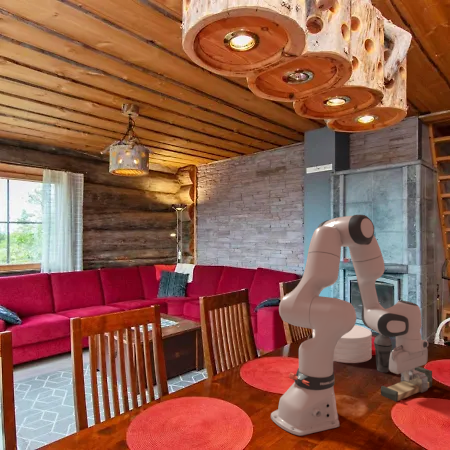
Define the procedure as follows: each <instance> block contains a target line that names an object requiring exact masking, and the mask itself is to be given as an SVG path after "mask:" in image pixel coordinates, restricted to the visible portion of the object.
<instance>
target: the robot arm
mask: <svg viewBox="0 0 450 450" xmlns="http://www.w3.org/2000/svg"><path fill="white" fill-rule="evenodd" d="M308 246H309V247H308V249H307V256H306V263H305V267H304V270H303V271H304V272H303V275H302V277H301V279H300V281H299V283H298V284H297V286H295V288H294V289H292V291H290V292H288V293H287V294H285V295H284V296H283V297H282V298H281V299H280V302H279V304H278V305H279V306H278V312H279V316H280V318H281V320H282V321H283V322H285V323H287V324H289V325H292V326H295V327H298V328H305V329H311V330H313V329H314V330H315V337H314V338H313V337H312V338H311V337H310V338H308V339H306V340H304V341H303V342H301V344H300V345H299V348H298V368H297V371H296V373H294V372H291V371H290V373H289V374H288V378H289V379H291V380H292V381H294V382H293V383H292V384H291V385H290V386H289V388H288V389H287V390H286V391H285V392H284V393H283V394H282V395H281V396H280V397H279V402H278V409H276V410H274V411H272V412H271V413H270V419H271V420H272V422H274V423H275V424H276V425H277V426H278V427H279V428H281V429H283V430H284V431H286V432H287V433H291V434H293V435H296V436H299V437H300V436H301V437H302V436H307V435H310V434H313V433H318V432H322V431H327V430H331V429H335V428H339V427H340V420H339V414H338V410H337V402H336V401H337V400H336V395H335V388H334V386H335V380H336V379H335V378H336V377H335V372H334V361H333V357H334V349H335V346H336V344H337V342H338V341H339V339H340V338H341V337H342V336H343V335H345V334H346V333H348V332H349V331H351V330H352V328H353V327H354V325H356V322H357V312H356V309H355V307H354V306H353V305H352V303H351V302H349V301H347V300H343V299H341V298H338V297H330V296H322V295H321V296H320V294H321V292H323V290H324V289H326V288H329V287H331V286H333V285H334V284H335V283H337V280H338V277H339V271H340V263H341V252H342V247H345V248H348V249H349V254H350V258H351V263H352V266H353V268H354V273H355V276H356V283H357V287H358V291H359V295H360V301H361V316H360V317H361V321H362V323H363V325H364V326H365V328H367V329H369V330H372V331H375V333H378V335H380V334H381V335H383V336H386V337H389V338H394V337H395V347H394V348H393V350H392V351H390V359H389V370H388V371H389V372H391V373H393V374H396V375H399V374H400V375H401V373H403V374H404V380H406V381H410V380H412V379H413V374H414V371H415V368H416V367H422V366H424V365H426V364H427V362H428V353H429V352H428V351H429V350H428V347H429V341H427V340H425V339H422V334H421V328H422V313H421V312H422V311H421V308H420V306H419V305H418V304H416V303H414V302H411V301H406V300H398V301H397V302H396V303H394V305H392V306H390V307H387V308H385V307H383V306H382V305H381V304H380V302H379V297H378V294H377V293H378V292H377V289H376V281H377V280H379V279H380V278H381V277H382V276H383V275H384V272H385V269H386V267H385V260H384V257H383V254H382V251H381V247H380V245H379V242H378V240H377V238H376V236H375V226H374V223H373V221H372V220H371V219H370V218H369V217H368V216H367V215H364V214H354V215H346V216H339V217H335V218H332V219H331V218H330V219H327V220H325V221H322V222H321V223H320V224H319V225H318V226H317V228H315V230H314V231H313V233H312V235H311V239H310V242H309V245H308Z"/></svg>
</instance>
